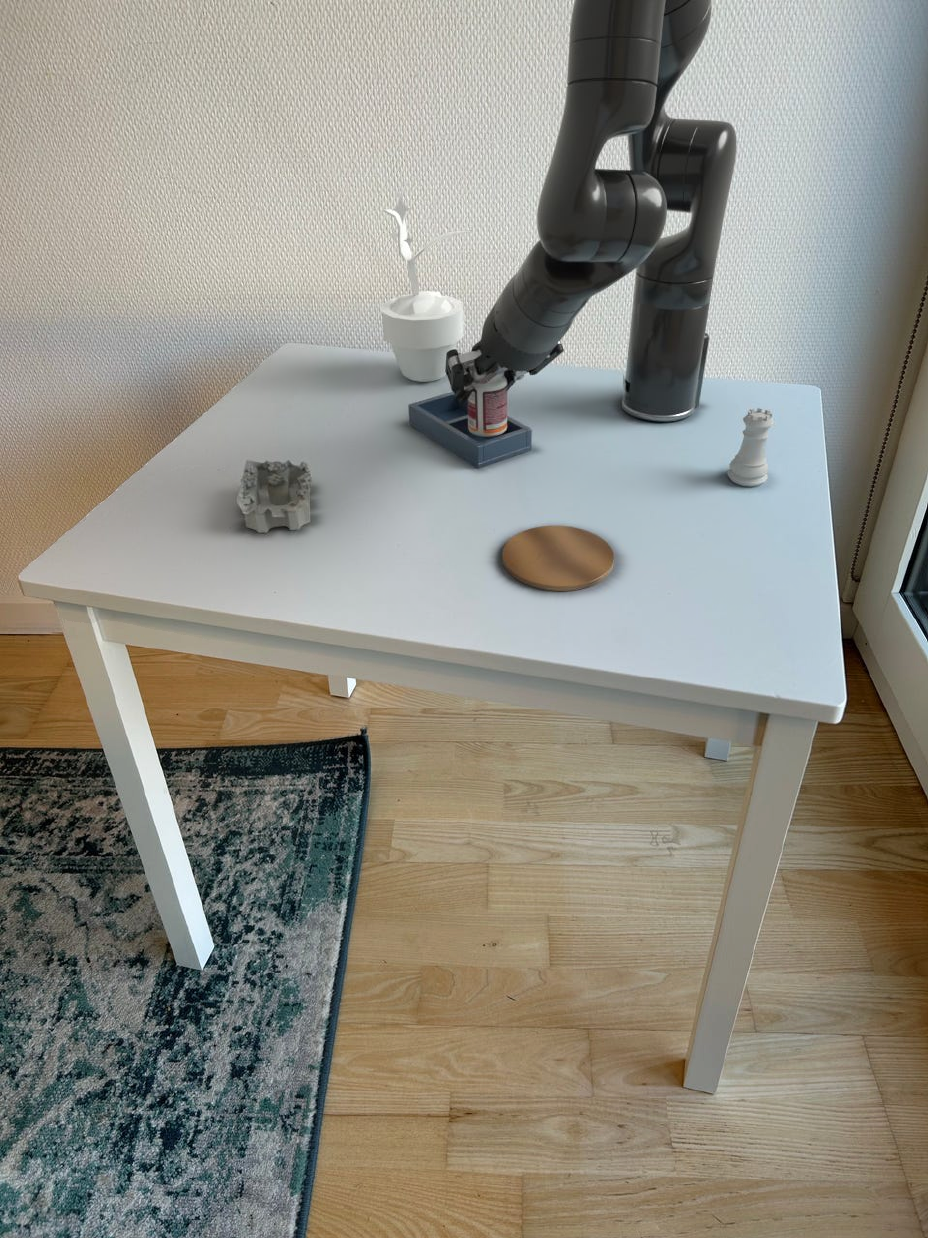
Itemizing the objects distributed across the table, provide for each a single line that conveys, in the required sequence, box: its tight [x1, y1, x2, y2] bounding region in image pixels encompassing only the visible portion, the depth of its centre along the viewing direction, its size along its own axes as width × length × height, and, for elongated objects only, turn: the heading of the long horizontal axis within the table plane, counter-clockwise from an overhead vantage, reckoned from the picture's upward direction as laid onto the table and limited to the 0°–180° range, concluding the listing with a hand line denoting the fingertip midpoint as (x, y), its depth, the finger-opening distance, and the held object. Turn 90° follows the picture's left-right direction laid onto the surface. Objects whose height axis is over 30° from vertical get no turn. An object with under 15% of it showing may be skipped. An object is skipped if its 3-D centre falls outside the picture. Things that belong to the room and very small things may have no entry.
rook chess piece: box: [727, 407, 775, 488], centre depth 96 cm, size 4×4×8 cm
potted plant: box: [380, 193, 472, 383], centre depth 117 cm, size 13×12×25 cm
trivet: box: [501, 525, 615, 592], centre depth 85 cm, size 11×11×1 cm
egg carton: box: [236, 459, 312, 534], centre depth 93 cm, size 11×8×4 cm
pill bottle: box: [467, 371, 508, 437], centre depth 102 cm, size 5×5×8 cm
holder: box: [407, 391, 533, 469], centre depth 107 cm, size 8×15×3 cm, turn 35°
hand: (479, 389), depth 103 cm, fingers closed on pill bottle, 4 cm apart
